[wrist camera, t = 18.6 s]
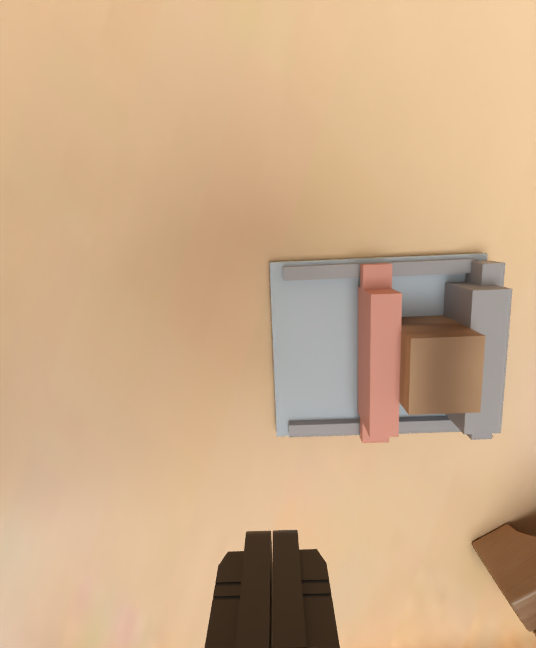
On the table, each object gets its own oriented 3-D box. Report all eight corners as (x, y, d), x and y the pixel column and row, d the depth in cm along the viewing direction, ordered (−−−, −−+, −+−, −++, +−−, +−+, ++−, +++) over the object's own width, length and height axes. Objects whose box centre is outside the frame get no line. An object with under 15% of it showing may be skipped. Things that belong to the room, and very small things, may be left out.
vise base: (276, 430, 35) (277, 466, 30) (269, 261, 32) (268, 267, 27) (470, 424, 35) (505, 459, 29) (480, 252, 32) (522, 257, 26)
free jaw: (357, 431, 34) (369, 459, 30) (357, 263, 31) (371, 268, 27) (382, 430, 34) (397, 458, 30) (385, 262, 31) (402, 266, 27)
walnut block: (382, 379, 33) (408, 414, 27) (383, 317, 32) (410, 338, 26) (440, 377, 33) (480, 412, 27) (443, 315, 32) (485, 335, 26)
